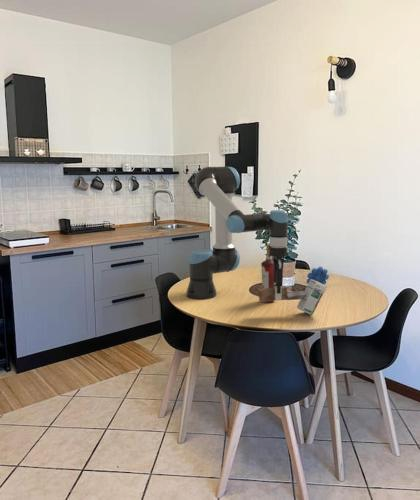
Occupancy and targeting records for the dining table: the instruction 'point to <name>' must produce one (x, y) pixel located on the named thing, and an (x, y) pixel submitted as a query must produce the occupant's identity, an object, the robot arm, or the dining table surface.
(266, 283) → the liquor
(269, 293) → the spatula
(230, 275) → the dining table surface
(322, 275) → the grapes
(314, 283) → the syrup box
